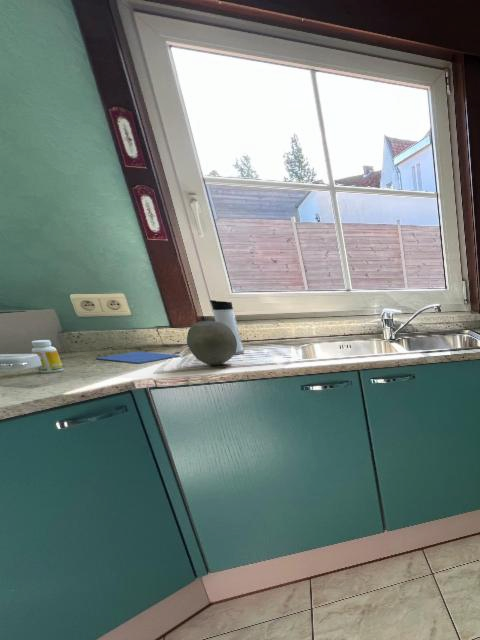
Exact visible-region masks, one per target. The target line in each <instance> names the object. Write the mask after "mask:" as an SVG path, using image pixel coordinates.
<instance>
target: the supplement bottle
mask: <svg viewBox="0 0 480 640" xmlns="http://www.w3.org/2000/svg"><path fill="white" fill-rule="evenodd" d="M31 344H32V346H33V348H32V349H31V354H37V355H38V356H39V358H40V360H41V363H42V365H41V366H40V367H37V369H38V371H39V373H41V374H50V373H58V372H63V371H64V366H63V363H62V360H61V358H60V355H59V352H58V350H57V348H56V347H55V346H52V341H51V340H50V339H38V340H37V339H36V340H32V341H31Z"/></svg>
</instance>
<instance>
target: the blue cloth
mask: <svg viewBox="0 0 480 640" xmlns="http://www.w3.org/2000/svg"><path fill="white" fill-rule="evenodd" d="M179 356H180V357H181V355H178V354H168V353H158V352H149V351H132V352H127V353H120V354H114V355H108V356H102V357H96V360H98V361H99V360H100V361H107V362H108V361H109V362H118V363H126V364H127V363H128V364H137V365H140V364H146V363H152V362H157V361H162V360H163V359H164V360H169V359H173V358H172V357H175V358H180V357H179ZM168 358H169V359H168ZM164 360H163V361H164Z"/></svg>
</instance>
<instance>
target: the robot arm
mask: <svg viewBox="0 0 480 640" xmlns="http://www.w3.org/2000/svg"><path fill="white" fill-rule="evenodd" d="M41 365H42V363H41V360H40V358H39V356H38V355H37V354H33V353H1V354H0V372H20V371H26V370H30V369H35V368H38V367H40V366H41Z"/></svg>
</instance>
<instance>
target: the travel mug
mask: <svg viewBox="0 0 480 640" xmlns="http://www.w3.org/2000/svg"><path fill="white" fill-rule="evenodd" d="M209 302H210V304H211V307H212V312H213V317H214V321H217V322H221V323H223V324H225V325H227V326H228V327H229V328H230V329H231V330H232V332H233V333H234V335H235V337H236V341H237V349H236V352H235V354H234V355H233V356H238V355H243V354H244V348H243V343H242V339H241V335H240V331H239V327H238V323H237V318H236V314H235V310H234V307H233V303H232V301H221V300H214V299H210V300H209Z"/></svg>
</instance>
